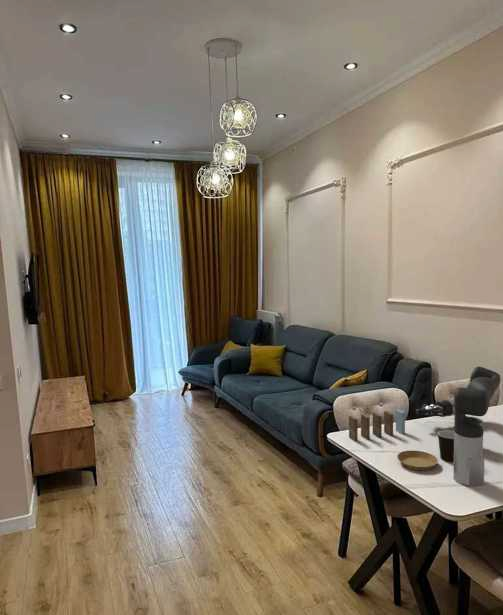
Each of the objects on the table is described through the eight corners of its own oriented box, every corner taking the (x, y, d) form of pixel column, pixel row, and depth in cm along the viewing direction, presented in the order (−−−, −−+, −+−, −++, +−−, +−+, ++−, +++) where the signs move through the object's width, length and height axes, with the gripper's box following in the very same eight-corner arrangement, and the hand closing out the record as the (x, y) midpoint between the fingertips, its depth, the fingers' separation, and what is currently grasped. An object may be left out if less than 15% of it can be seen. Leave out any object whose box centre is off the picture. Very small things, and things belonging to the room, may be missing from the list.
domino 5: (398, 430, 209) (398, 409, 208) (404, 433, 205) (405, 412, 204) (395, 430, 209) (395, 409, 208) (401, 434, 204) (402, 412, 203)
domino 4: (387, 431, 208) (387, 410, 207) (393, 435, 203) (393, 414, 202) (384, 432, 207) (384, 411, 206) (390, 436, 203) (390, 414, 202)
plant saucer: (412, 476, 165) (412, 469, 165) (389, 459, 179) (389, 453, 179) (446, 469, 169) (446, 463, 169) (420, 454, 183) (420, 448, 183)
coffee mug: (447, 465, 172) (447, 439, 172) (432, 456, 181) (433, 431, 180) (472, 460, 176) (473, 436, 175) (457, 452, 184) (457, 428, 183)
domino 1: (352, 436, 203) (352, 415, 202) (357, 440, 198) (357, 418, 197) (349, 437, 202) (348, 415, 201) (354, 441, 198) (354, 419, 197)
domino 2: (364, 435, 204) (364, 413, 203) (369, 439, 200) (369, 417, 199) (360, 435, 204) (360, 414, 203) (366, 439, 199) (366, 417, 198)
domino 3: (375, 433, 206) (375, 412, 205) (381, 437, 201) (381, 415, 200) (372, 433, 205) (372, 412, 204) (378, 437, 201) (378, 416, 200)
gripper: (458, 420, 207) (426, 424, 202) (438, 411, 220) (407, 415, 215) (458, 404, 207) (426, 408, 202) (438, 396, 219) (408, 400, 214)
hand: (416, 412), depth 208 cm, fingers closed
